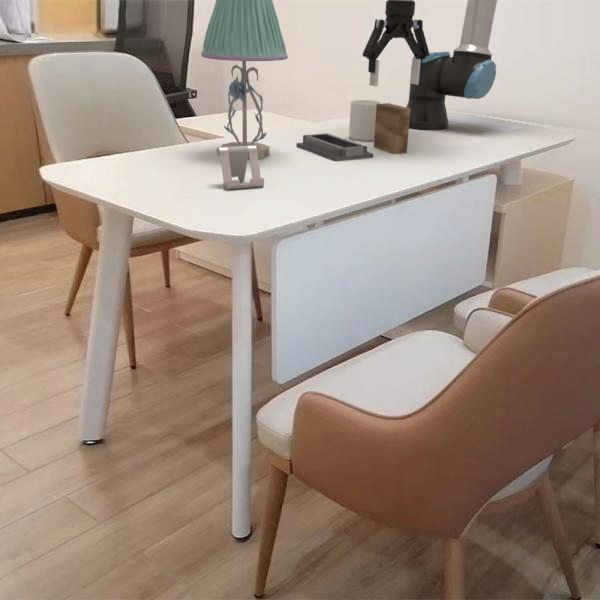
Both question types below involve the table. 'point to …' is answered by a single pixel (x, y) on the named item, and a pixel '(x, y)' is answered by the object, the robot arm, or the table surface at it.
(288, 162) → the table surface
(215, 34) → the table lamp
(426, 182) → the table surface
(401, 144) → the brown wooden block
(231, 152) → the portable electronic device stand
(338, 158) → the base
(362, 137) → the mug
